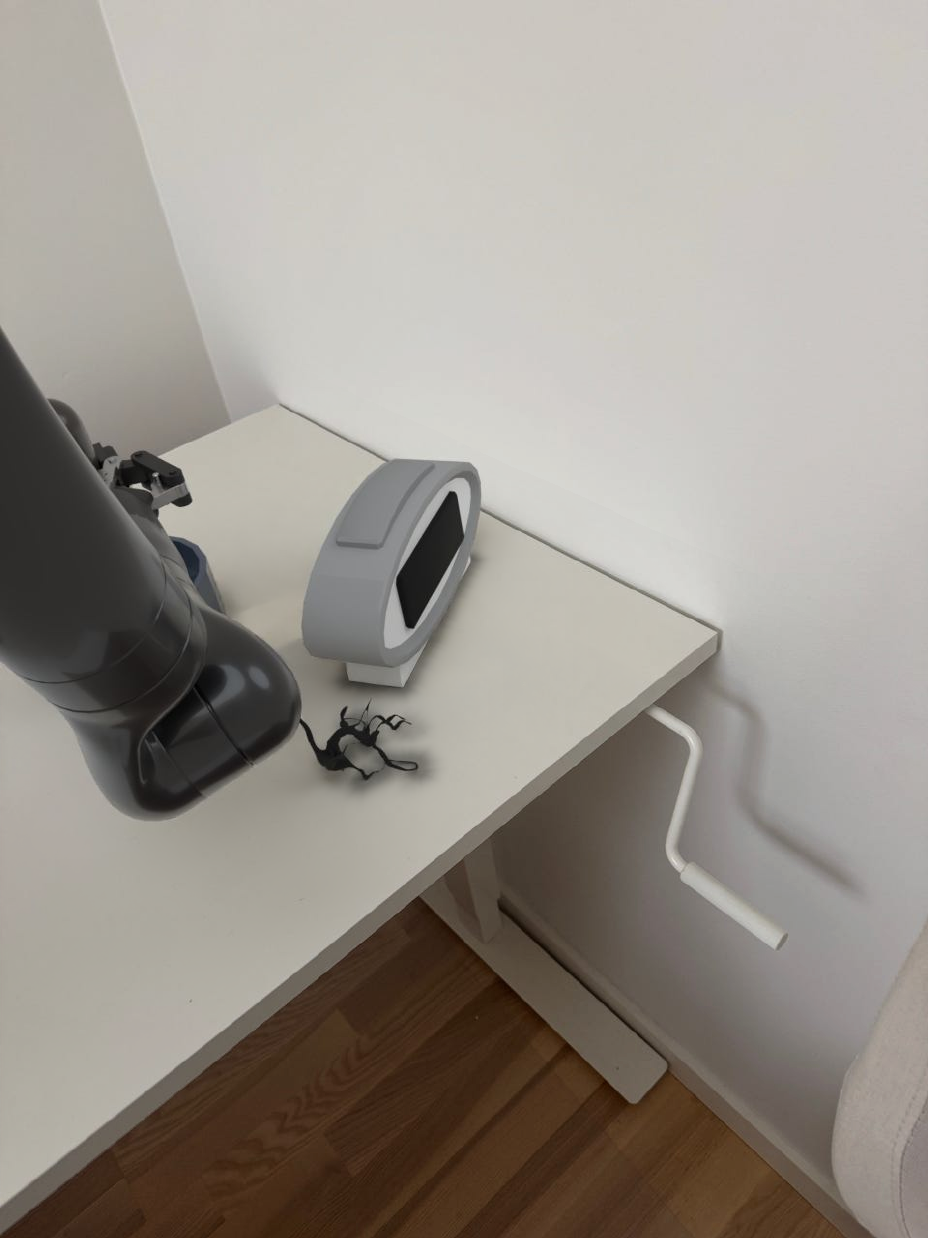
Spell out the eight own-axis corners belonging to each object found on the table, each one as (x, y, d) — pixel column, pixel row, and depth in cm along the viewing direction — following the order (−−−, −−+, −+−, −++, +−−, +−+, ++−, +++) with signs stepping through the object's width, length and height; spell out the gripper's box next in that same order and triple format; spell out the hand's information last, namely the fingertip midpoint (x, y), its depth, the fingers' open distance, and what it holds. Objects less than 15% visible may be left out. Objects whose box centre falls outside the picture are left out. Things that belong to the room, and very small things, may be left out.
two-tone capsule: (85, 585, 71) (6, 424, 63) (73, 557, 75) (-3, 402, 66) (144, 561, 73) (75, 401, 64) (130, 535, 76) (62, 380, 68)
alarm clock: (397, 719, 71) (362, 582, 63) (324, 708, 73) (280, 575, 65) (491, 540, 88) (472, 415, 80) (428, 536, 90) (404, 413, 82)
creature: (376, 715, 73) (287, 757, 69) (375, 657, 71) (282, 696, 66) (442, 766, 68) (351, 815, 64) (444, 705, 66) (348, 751, 61)
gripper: (207, 476, 59) (139, 388, 71) (-30, 567, 54) (-59, 456, 67) (242, 574, 63) (172, 475, 76) (26, 664, 59) (-10, 544, 71)
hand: (64, 467), depth 71 cm, fingers closed on two-tone capsule, 4 cm apart
